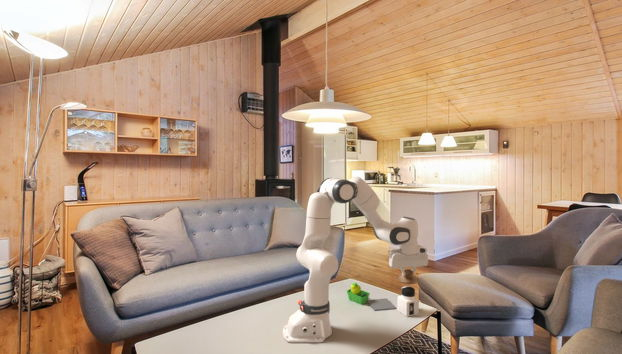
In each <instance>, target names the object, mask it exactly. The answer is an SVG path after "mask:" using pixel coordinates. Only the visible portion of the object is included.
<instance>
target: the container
mask: <svg viewBox="0 0 622 354" xmlns="http://www.w3.org/2000/svg"><path fill="white" fill-rule="evenodd" d="M415 296H416V289H415V288H414V287H412V286H408V285H405V286H403V287H401V295H399V296H397V297H396V298H397V300H396V301H397V304H396V305H397V306H396V309H397V311H398V313H400V314H402V315H403V316H404V317H406V318H408V317H412V316H416V315H419V313H420V312H419V311H420V310H419V308H420V299H418V298H417V297H415Z"/></svg>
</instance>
